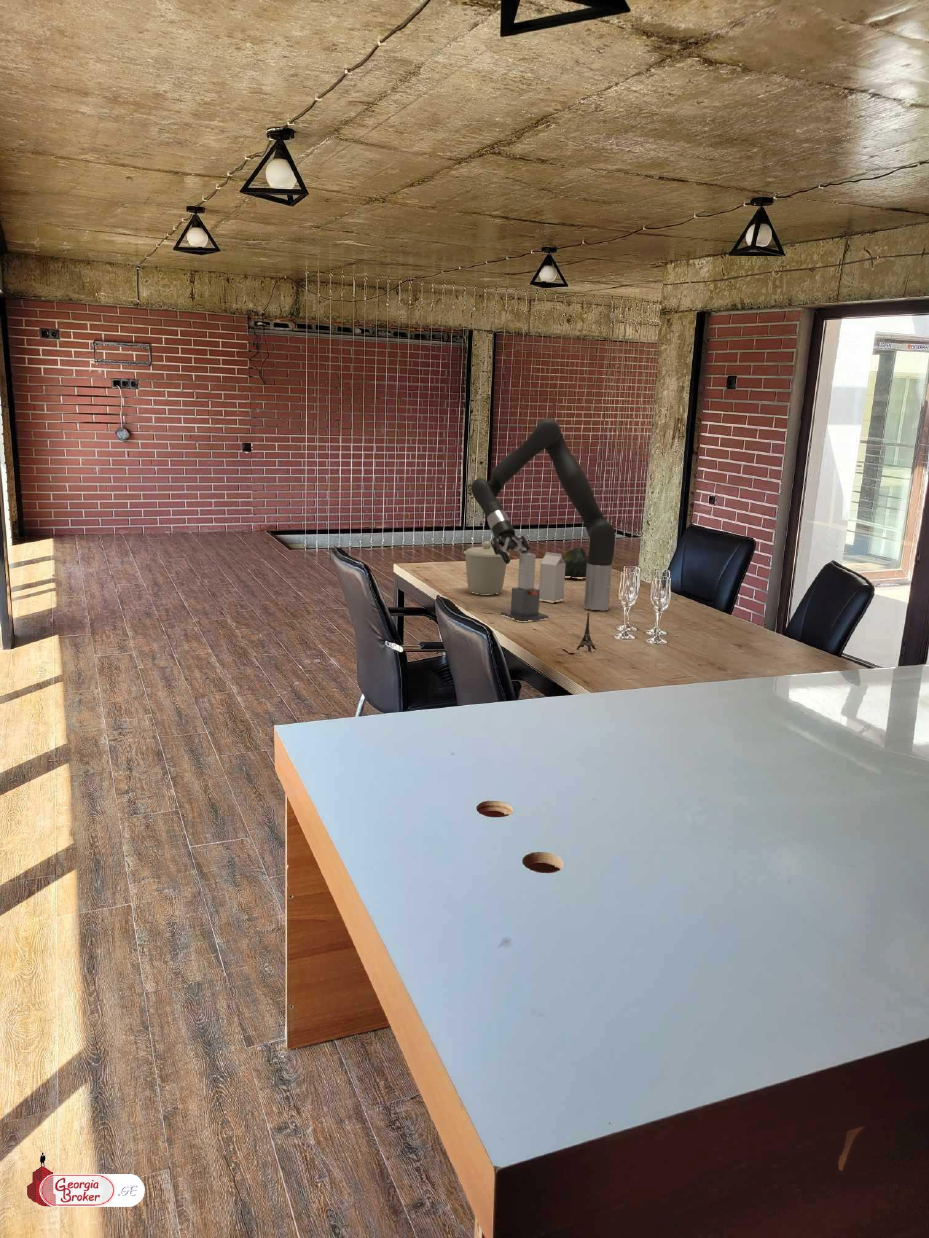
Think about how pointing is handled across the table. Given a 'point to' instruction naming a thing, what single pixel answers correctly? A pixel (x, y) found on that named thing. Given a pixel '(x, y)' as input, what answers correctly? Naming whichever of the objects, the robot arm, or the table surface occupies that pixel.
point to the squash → (575, 562)
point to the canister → (484, 569)
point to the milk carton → (552, 577)
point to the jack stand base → (525, 605)
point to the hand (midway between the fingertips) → (518, 562)
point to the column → (526, 571)
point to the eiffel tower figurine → (587, 635)
